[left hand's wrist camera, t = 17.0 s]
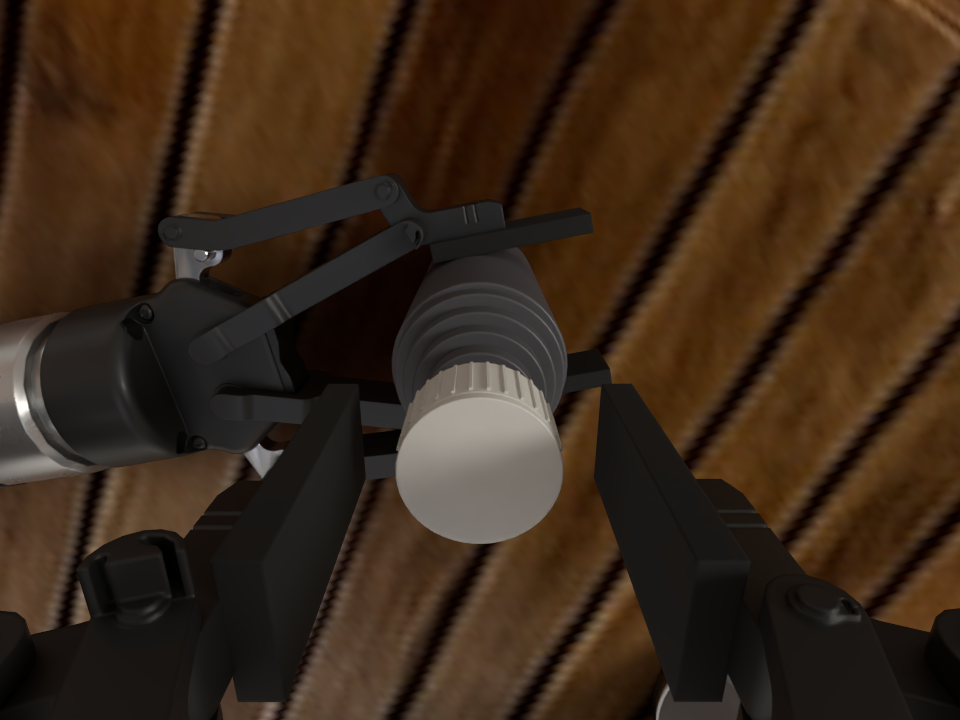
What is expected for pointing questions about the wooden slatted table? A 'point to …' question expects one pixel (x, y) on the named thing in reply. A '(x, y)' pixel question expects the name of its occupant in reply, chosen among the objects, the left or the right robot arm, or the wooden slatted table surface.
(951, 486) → the wooden slatted table surface
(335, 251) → the wooden slatted table surface
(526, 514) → the cap
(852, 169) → the wooden slatted table surface
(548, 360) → the bottle
